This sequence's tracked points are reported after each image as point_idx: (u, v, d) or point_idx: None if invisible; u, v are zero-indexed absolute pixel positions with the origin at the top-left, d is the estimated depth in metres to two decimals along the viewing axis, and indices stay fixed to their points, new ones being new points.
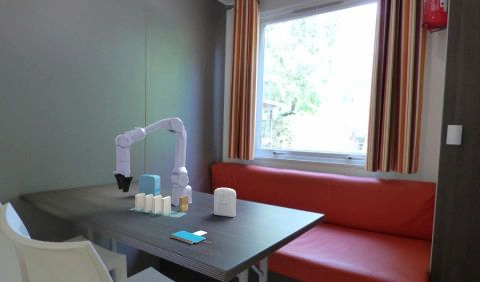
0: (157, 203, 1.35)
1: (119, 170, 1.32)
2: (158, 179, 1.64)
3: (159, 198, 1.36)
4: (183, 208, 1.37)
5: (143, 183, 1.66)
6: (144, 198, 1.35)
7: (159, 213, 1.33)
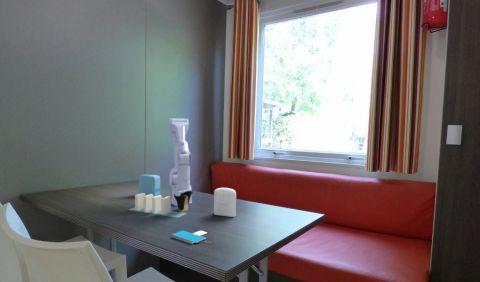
0: (157, 203, 1.35)
1: (177, 188, 1.36)
2: (158, 179, 1.64)
3: (159, 198, 1.36)
4: None
5: (143, 183, 1.66)
6: (144, 198, 1.35)
7: (159, 213, 1.33)
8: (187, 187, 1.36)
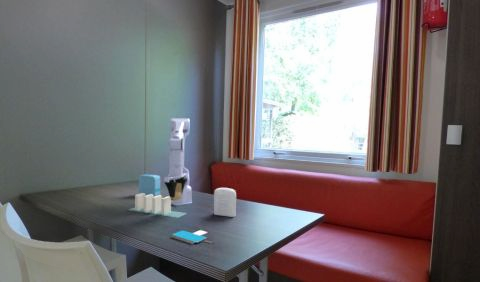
0: (157, 203, 1.35)
1: (169, 174, 1.31)
2: (158, 179, 1.64)
3: (159, 198, 1.36)
4: (175, 195, 1.31)
5: (143, 183, 1.66)
6: (144, 198, 1.35)
7: (159, 213, 1.33)
8: (178, 174, 1.29)
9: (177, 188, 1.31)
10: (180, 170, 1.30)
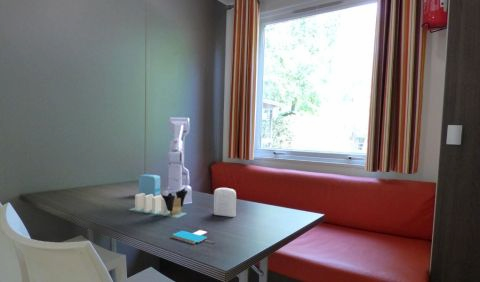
0: (157, 203, 1.35)
1: (168, 187, 1.30)
2: (158, 179, 1.64)
3: (159, 198, 1.36)
4: (174, 210, 1.31)
5: (143, 183, 1.66)
6: (144, 198, 1.35)
7: (159, 213, 1.33)
8: (177, 187, 1.29)
9: (176, 203, 1.31)
10: (179, 183, 1.30)
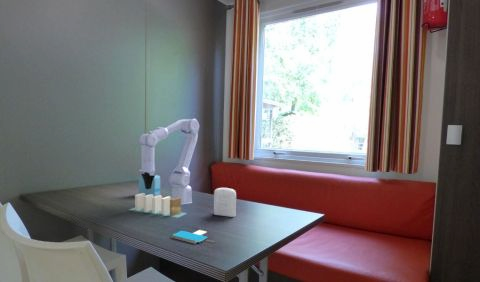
0: (157, 203, 1.35)
1: (144, 169, 1.34)
2: (158, 179, 1.64)
3: (159, 198, 1.36)
4: (174, 210, 1.31)
5: (143, 183, 1.66)
6: (144, 198, 1.35)
7: (159, 213, 1.33)
8: (154, 167, 1.37)
9: (176, 203, 1.31)
10: (154, 163, 1.38)
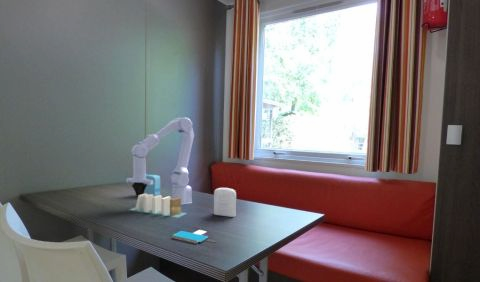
0: (157, 203, 1.35)
1: (139, 179, 1.37)
2: (158, 179, 1.64)
3: (159, 198, 1.36)
4: (174, 210, 1.31)
5: None
6: (144, 198, 1.35)
7: (159, 213, 1.33)
8: None
9: (176, 203, 1.31)
10: None
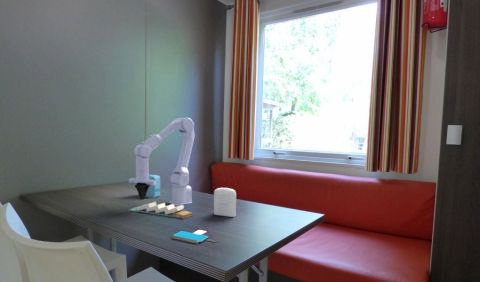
0: None
1: (142, 179, 1.36)
2: (158, 179, 1.64)
3: (170, 208, 1.34)
4: None
5: None
6: (156, 207, 1.33)
7: (159, 213, 1.33)
8: None
9: None
10: None
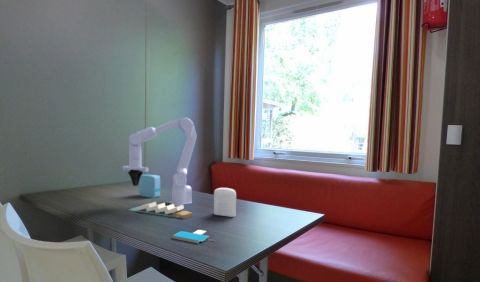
0: None
1: (135, 166, 1.42)
2: (158, 179, 1.64)
3: (170, 208, 1.34)
4: None
5: (143, 183, 1.66)
6: (156, 207, 1.33)
7: (159, 213, 1.33)
8: None
9: None
10: None
